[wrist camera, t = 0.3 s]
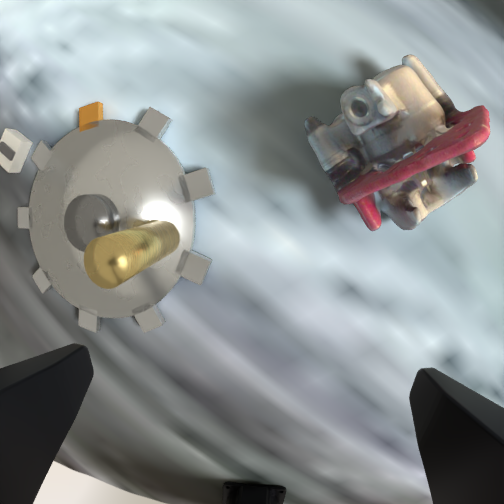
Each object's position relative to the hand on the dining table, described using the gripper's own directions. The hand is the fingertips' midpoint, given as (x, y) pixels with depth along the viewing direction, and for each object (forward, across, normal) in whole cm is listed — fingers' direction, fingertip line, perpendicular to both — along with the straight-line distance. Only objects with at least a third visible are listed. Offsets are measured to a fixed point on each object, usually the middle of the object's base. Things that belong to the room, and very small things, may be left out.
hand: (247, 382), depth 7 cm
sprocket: (+15, +12, -1) cm, 19 cm away
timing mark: (+15, +23, -8) cm, 28 cm away
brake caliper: (+16, -8, -7) cm, 19 cm away
